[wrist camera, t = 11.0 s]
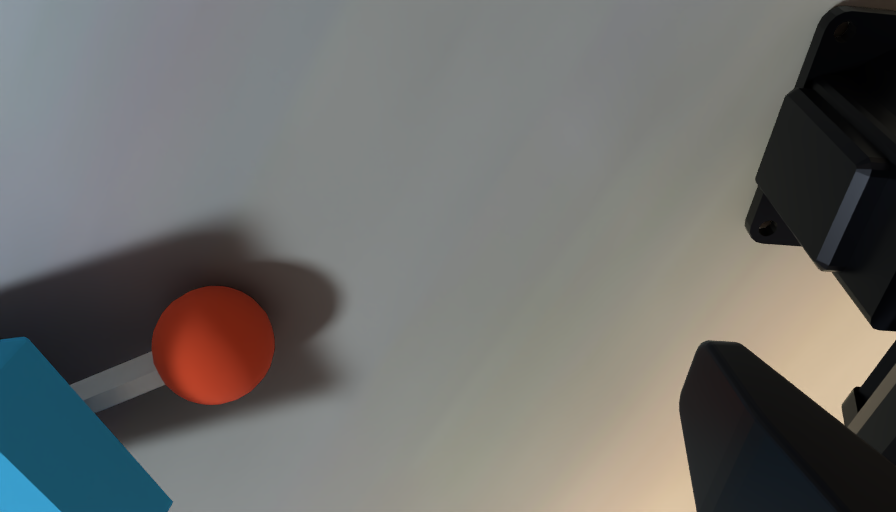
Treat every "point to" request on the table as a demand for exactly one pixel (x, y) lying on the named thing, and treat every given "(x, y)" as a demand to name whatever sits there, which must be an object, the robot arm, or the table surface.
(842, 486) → the robot arm
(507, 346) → the table surface
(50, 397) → the lever
